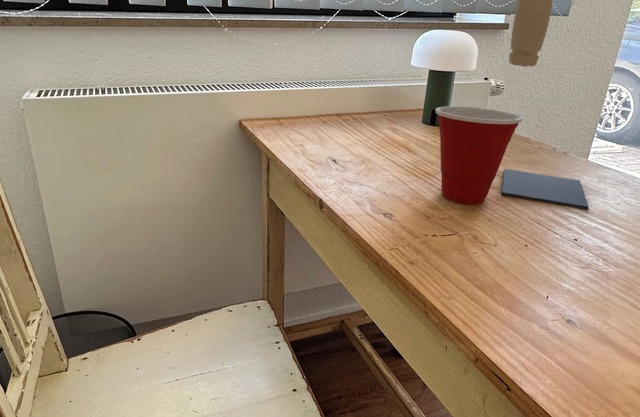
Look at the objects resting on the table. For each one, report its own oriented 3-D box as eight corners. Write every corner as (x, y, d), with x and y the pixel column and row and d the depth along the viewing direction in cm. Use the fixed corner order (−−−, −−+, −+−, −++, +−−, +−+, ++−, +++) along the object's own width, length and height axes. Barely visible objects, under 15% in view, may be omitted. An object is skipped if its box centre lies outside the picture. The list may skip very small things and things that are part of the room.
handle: (554, 69, 59) (588, -73, 53) (499, 66, 60) (527, -75, 54) (542, 63, 64) (572, -69, 57) (492, 60, 64) (516, -71, 58)
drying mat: (579, 182, 75) (579, 180, 75) (587, 209, 65) (588, 206, 65) (503, 170, 78) (504, 168, 78) (501, 194, 69) (502, 192, 69)
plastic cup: (496, 185, 72) (513, 104, 67) (511, 216, 62) (533, 123, 57) (421, 178, 73) (433, 98, 68) (425, 207, 63) (439, 115, 58)
